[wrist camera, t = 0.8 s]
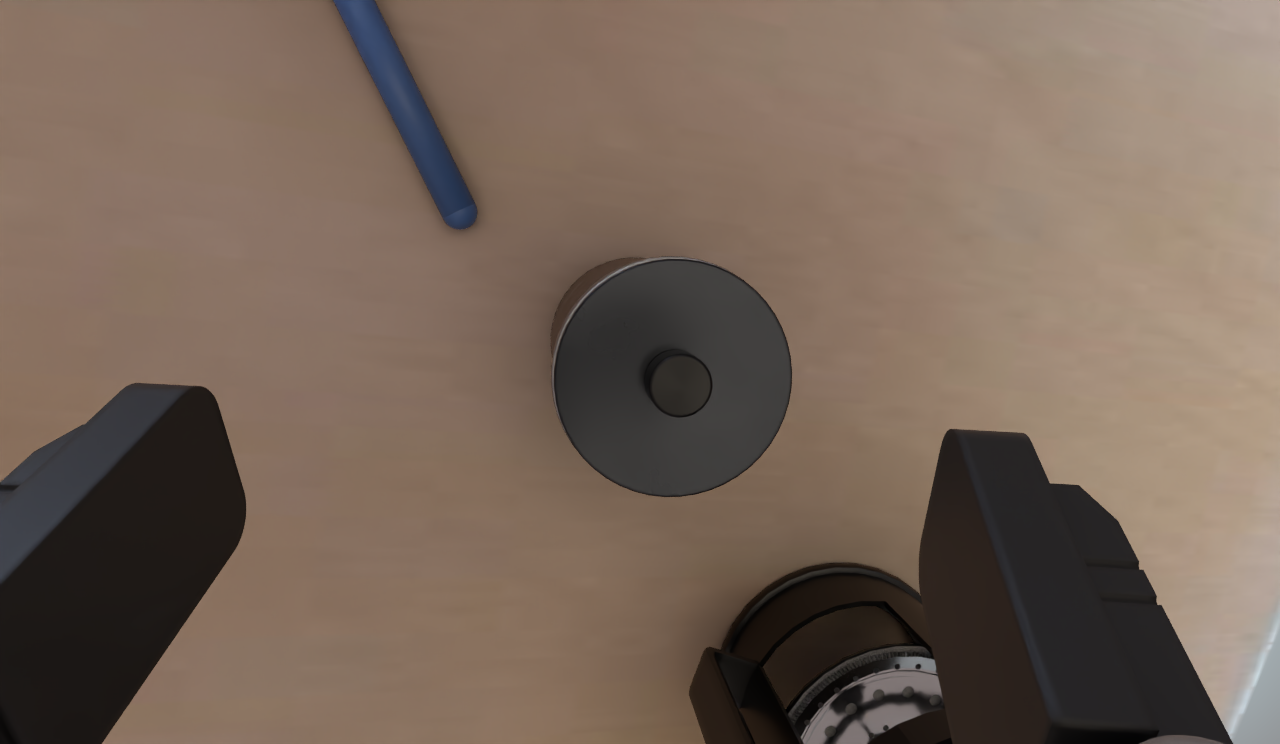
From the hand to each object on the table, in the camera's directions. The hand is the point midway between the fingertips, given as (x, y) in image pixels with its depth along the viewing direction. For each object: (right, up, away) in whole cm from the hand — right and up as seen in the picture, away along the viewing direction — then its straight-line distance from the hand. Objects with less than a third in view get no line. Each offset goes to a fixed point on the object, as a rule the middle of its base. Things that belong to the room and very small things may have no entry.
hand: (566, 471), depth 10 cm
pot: (+1, +2, +23) cm, 23 cm away
